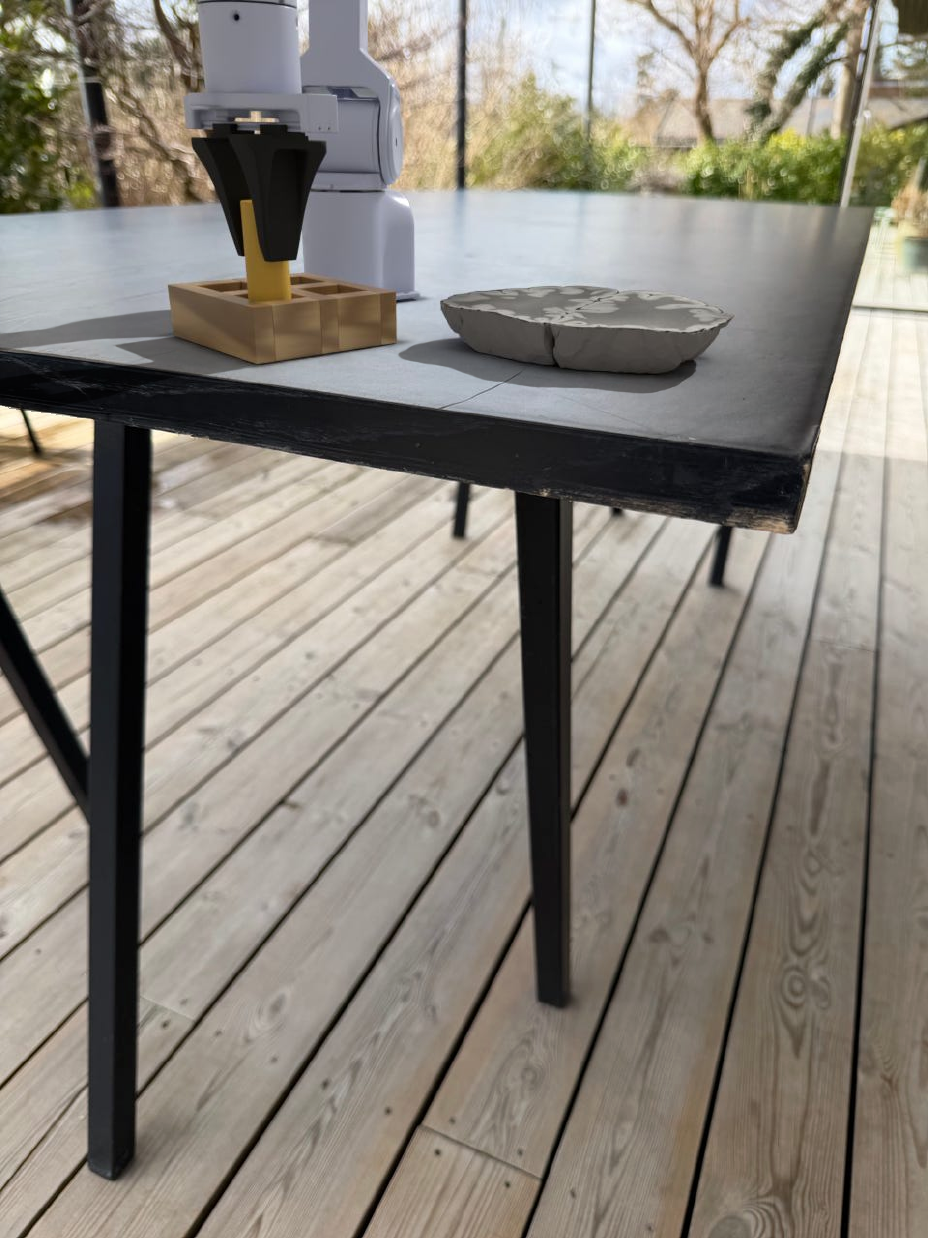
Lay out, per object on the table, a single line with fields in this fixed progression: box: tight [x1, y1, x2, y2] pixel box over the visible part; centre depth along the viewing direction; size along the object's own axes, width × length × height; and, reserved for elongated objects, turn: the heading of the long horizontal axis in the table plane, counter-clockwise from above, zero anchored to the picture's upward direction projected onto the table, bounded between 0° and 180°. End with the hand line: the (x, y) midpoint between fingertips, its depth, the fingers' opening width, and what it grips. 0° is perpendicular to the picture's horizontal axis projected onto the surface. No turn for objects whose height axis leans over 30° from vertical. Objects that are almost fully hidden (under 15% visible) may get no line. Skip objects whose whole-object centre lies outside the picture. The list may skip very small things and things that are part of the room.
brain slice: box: [439, 285, 735, 375], centre depth 64 cm, size 20×17×3 cm
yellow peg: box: [240, 200, 291, 302], centre depth 60 cm, size 3×3×8 cm
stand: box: [167, 272, 398, 365], centre depth 64 cm, size 11×11×4 cm
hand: (266, 257), depth 59 cm, fingers closed on yellow peg, 3 cm apart
